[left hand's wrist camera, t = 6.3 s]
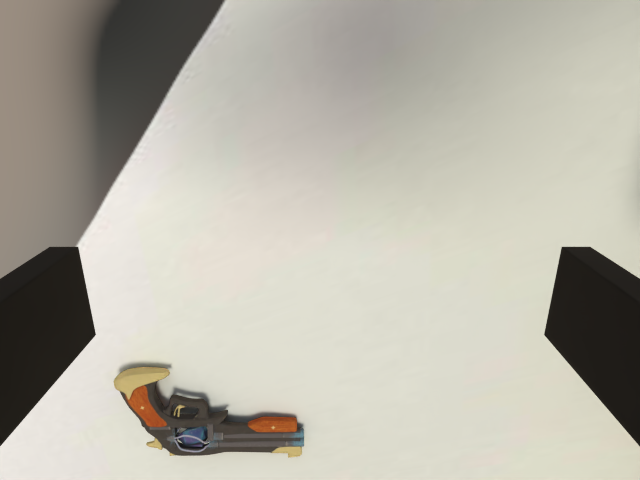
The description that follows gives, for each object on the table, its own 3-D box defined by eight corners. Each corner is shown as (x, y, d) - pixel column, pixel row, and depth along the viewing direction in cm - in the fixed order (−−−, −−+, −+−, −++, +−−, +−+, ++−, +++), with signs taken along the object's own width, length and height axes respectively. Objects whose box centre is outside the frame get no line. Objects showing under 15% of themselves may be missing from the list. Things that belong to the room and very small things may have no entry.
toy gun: (108, 376, 43) (114, 466, 45) (307, 377, 45) (303, 464, 47) (119, 362, 46) (124, 447, 48) (306, 364, 47) (302, 446, 49)
